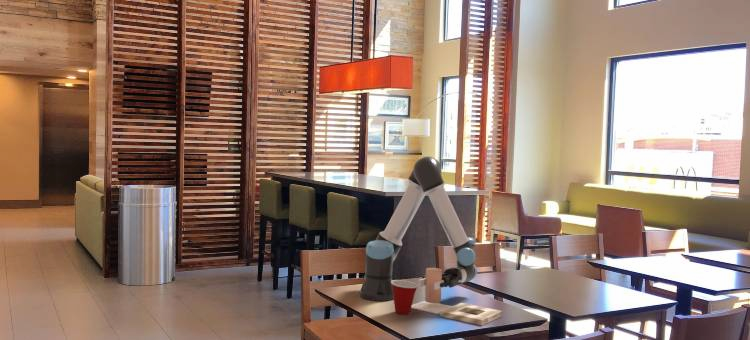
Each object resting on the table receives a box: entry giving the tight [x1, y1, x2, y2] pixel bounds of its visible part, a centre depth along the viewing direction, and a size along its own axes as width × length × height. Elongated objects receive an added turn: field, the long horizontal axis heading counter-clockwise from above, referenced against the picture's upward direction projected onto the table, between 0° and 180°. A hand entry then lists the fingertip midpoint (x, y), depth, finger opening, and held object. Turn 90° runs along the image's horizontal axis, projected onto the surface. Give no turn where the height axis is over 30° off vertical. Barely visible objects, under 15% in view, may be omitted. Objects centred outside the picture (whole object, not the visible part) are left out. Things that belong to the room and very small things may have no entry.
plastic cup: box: [391, 279, 419, 315], centre depth 252 cm, size 11×11×12 cm
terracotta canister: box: [424, 267, 443, 304], centre depth 261 cm, size 6×6×13 cm
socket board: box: [439, 302, 503, 326], centre depth 251 cm, size 18×18×2 cm
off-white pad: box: [411, 300, 452, 315], centre depth 262 cm, size 14×14×1 cm
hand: (427, 284), depth 257 cm, fingers closed on terracotta canister, 6 cm apart
